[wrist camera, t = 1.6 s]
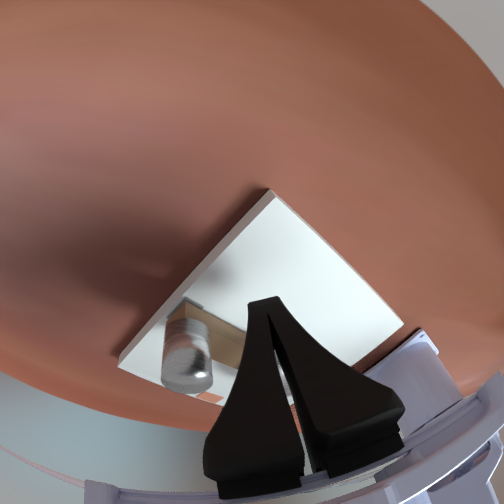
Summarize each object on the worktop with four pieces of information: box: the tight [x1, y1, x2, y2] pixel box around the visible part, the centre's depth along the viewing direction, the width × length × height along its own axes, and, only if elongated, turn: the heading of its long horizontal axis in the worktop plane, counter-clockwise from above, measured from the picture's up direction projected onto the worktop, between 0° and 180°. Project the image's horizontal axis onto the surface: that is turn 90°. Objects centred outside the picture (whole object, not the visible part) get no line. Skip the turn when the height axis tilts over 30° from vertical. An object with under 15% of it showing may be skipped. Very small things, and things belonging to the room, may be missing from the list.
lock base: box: [117, 189, 404, 406], centre depth 19 cm, size 16×16×1 cm
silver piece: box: [161, 301, 292, 397], centre depth 15 cm, size 11×5×4 cm, turn 46°
